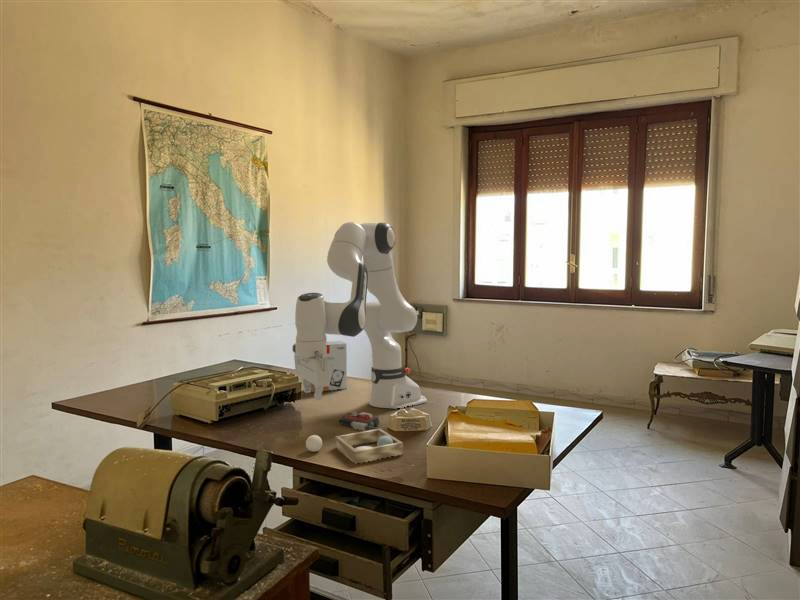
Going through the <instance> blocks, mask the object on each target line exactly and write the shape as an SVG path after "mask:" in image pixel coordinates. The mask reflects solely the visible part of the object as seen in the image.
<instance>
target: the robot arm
mask: <svg viewBox="0 0 800 600" xmlns="http://www.w3.org/2000/svg"><path fill="white" fill-rule="evenodd" d="M395 242H396V233H395V230H394V229H393V227H392V226H391V225H390V224H389V223H386V222H378V223H377V222H375V223H374V222H367V223H366V222H365V223H364V222H363V223H357V222H352V221H348V222H344V223H343V224H342V225H340V227H338V229H337V230H336V232H335V234H334V237H333V239H332V241H331V244H330V246H329V249H328V252H327V256H326V257H327V258H326V263H327V266H328V267H329V270H331V271H332V273H333V274H334V275H336V276H338V277H339V278H341V279H343V280H347V281H349V282H351V289H350V291H351V292H350V299H349V300H348V301H347V302H330V301H329V302H327V301H326V300H325V299H324V295H323V294H322V293H319V292H307V293H302V294H301V295H299V296H298V297H297V300H296V303H295V314H294V315H295V316H294V317H295V318H294V319H295V320H294V323H295V328H296V336H295V343H294V344H292V353H294V355H293V358H294V369H295V370H294V371H295V373H296V375H297V376H298V377H300V378H301V383H302V386H303V392H304V393H305V394H308V393H312V392H311V387H310V383H312V384H313V385H315V392H313V393H314V394H313V395H314V399H315V400H316V401H322V398H323V395H322V394H323V392H324V391H323V387H326V386H329V383H330V377H329V365H328V361H327V360H326V359H324V356H325V355H327V342H328V341H327V335H335V336H336V335H337V336H345V337H353V338H354V337H356V336H357V335H359V334H360V333H362V332H363V331H364V333H366V336H367V338H368V340H369V343H370V346H371V356H372V357H371V358H372V361H371V362H372V366H371V371H370V372H371V392H370V398H369V400H368V401H369V402H368V405H370V406H372V407H375V408H380V409H394V410H398V409H397V408H400V409H405V408H408V407H407V406H409V407H412V405H413V406H417V405H420V404H425V403H427V402H428V399H427V397H426V396H425V395H422V393H421V392H422V391H421V389H420V386H419V384H417V383H416V381H414V380H412V379H411V378H409V376H407V375H406V374H410V373H411V368H409V367H404V366H402V347H401V345H400V344H399V343H398V342H397V341H396V340H394V338H393V336H392V334H391V333H406V332H411V331H413V329H414V328H415V327H416V325H417V322H418V312H417V310H416V308H415V307H414V306H413V305H411V304H410V303H409V302H408V301H407V300H406V299H405V298H404V296H403V294H402V292H401V291H400V289H399V286H398V283H397V280H396V273H395V266H394V261H393V260H394V259H393V256H392V252H391V251H392V250H393V248H394V246H395V244H396V243H395ZM368 292H369V293H370V294H371V295H373V296H374V297H375V299H376V300H378V301H370V302H369V301H368V302H367V294H368ZM309 382H310V383H309ZM404 407H405V408H404ZM400 409H399V410H400Z"/></svg>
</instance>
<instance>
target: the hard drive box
mask: <svg viewBox="0 0 800 600" xmlns="http://www.w3.org/2000/svg"><path fill="white" fill-rule="evenodd" d="M326 342H327V355H325V356H324V359H326V360H327V361H328V365H329V377H330V383H329V386H326V387H323V392H327V391H329V390H330V391H338V390H337V389H341V390H346V389H345V388H347V386H348V385H347V383H348V381H347V377H348V375H347V373H348V372H347V371H348V370H347V366H348V365H347V363H348V362H347V358H348V357H347V355H348V354H347V349H348V348H347V346H348V345H347V344H348V343H346V342H344V341H342V340H336V341H335V340H334V341H333V340H332V341H326ZM309 383H310V382H309ZM310 387H311V392H310V393H315V385H313V384H312V383H310Z"/></svg>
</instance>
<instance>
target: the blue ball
mask: <svg viewBox="0 0 800 600" xmlns="http://www.w3.org/2000/svg"><path fill="white" fill-rule="evenodd" d="M392 443H393V440H392V439H391V438H390V437H389V436H381V437H380V438H379V439H378V441H376V447H377V446H382V445H387V444H392Z"/></svg>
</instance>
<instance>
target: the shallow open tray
mask: <svg viewBox="0 0 800 600" xmlns="http://www.w3.org/2000/svg"><path fill="white" fill-rule="evenodd" d="M382 429H383V428H381V429H374V430H365V431H358V432H353V433H348V434H342V435H335V436H334V439H335V440H334V441H335V442H334V443H335V447H334V448H335V449H336V448H337V449H338V452H340V453H341V452H342V453H343V454H342V453H341V454H342V455H343V456H345V458H347V459H348V458H349V459H348V460H350V461H351V462H352V463H353V462H354V463H355V464H354V463H353V464H354V465H358V464H357V463H360V464H364V463H363V462H365V463H369V462H368V461H370V462H374V461H378V460H377V459H379V460H382V459H381V458H384V459H387V458H386V457H389V458H392V457H391V456H394V457H397V456H398V455H399V456H403V455H404V442H402V441H401V440H399V439H398V438H397V437H395V436H393V435H391V434H390V433H388V432H385V431H383V430H382ZM381 436H389V437H390V438H391V439H392V440H393V443H392V444H387V445H382V446H377V445H376V446H371V447H372V448H367V449H362V450H356V449H355V448H356V447H355V448H354V446H358V445H359V444H360V445H364V443H365V444H370V443H375V442H377V441H378V439H379V438H380V437H381ZM369 442H370V443H369ZM353 445H354V446H353ZM337 449H336V450H337ZM402 454H403V455H402ZM373 460H374V461H373Z"/></svg>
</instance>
